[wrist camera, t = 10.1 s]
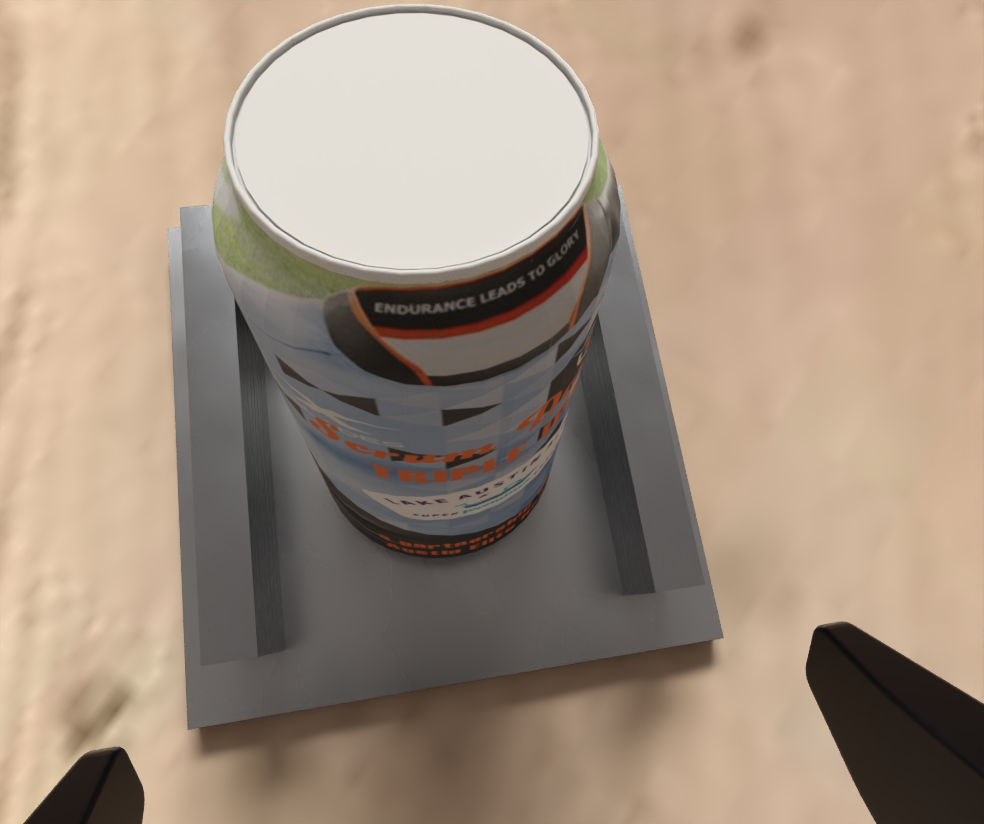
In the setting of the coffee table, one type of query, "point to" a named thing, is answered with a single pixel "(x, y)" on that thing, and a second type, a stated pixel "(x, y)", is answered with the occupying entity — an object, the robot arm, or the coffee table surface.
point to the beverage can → (420, 260)
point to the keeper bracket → (407, 579)
